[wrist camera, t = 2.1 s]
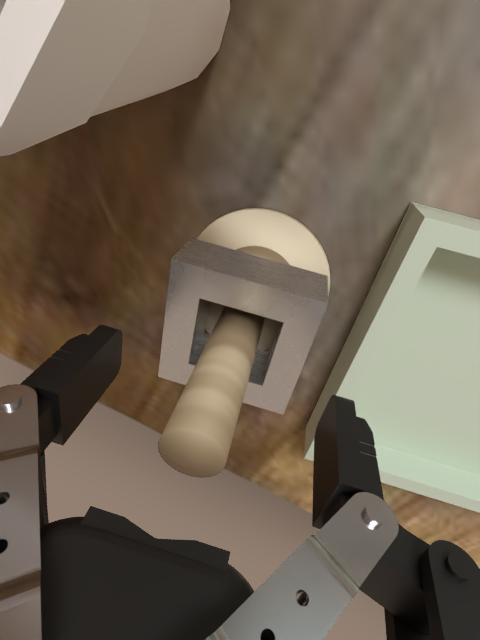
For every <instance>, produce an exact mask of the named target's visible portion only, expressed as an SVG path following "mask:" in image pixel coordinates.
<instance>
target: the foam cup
mask: <svg viewBox="0 0 480 640" xmlns="http://www.w3.org/2000/svg"><path fill="white" fill-rule="evenodd" d="M229 12H230V0H0V156H6V155H12V154H14V153H16V152H19V151H21V150H23V149H26V148H28V147H30V146H33V145H35V144H38V143H40V142H42V141H45V140H47V139H49V138H52V137H54V136H56V135H59V134H61V133H63V132H66V131H68V130H70V129H73V128H75V127H77V126H80V125H82V124H84V123H86V122H87V121H88V119H89V118H90V117H92V116H95V115H98V114H101V113H104V112H106V111H109V110H112V109H115V108H118V107H121V106H124V105H127V104H130V103H133V102H136V101H139V100H142V99H145V98H148V97H151V96H154V95H157V94H160V93H163V92H165V91H168V90H170V89H172V88H175V87H177V86H179V85H182V84H184V83H187V82H189V81H191V80H194V79H196V78H198V76H199V75H200V74H201V73H202V71H203V70H204V69H205V67H206V66H207V65H208V64H209V62H210V61H211V60H212V58H213V57H214V56H215V55H216V53H217V52H218V51H219V49H220V45H221V41H222V38H223V34H224V30H225V26H226V23H227V19H228V15H229Z"/></svg>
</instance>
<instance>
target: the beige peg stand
mask: <svg viewBox="0 0 480 640" xmlns="http://www.w3.org/2000/svg"><path fill="white" fill-rule="evenodd" d="M197 239H198V240H201V241H205V242H208V243H212V244H216V245H219V246H223V247H226V248H230V249H234V250H237V251H241V252H244V253H248V254H251V255H255V256H259V257H262V258H266V259H269V260H273V261H277V262H280V263H284V264H287V265H291V266H294V267H298V268H302V269H305V270H309V271H312V272H316V273H320V274H323V275H327V277H328V296H329V290H330V270H329V264H328V260H327V257H326V254H325V252H324V250H323V247H322V246H321V244H320V242H319V241H318V239H317V238H316V237H315V236H314V234H313V233H312V232H311V231H310V230H309V229H308V228H307V227H306V226H305V225H303V224H302V223H301V222H299V221H298V220H296V219H295V218H293V217H291V216H289V215H287V214H285V213H282V212H279V211H276V210H271V209H266V208H244V209H240V210H235V211H232V212H230V213H227V214H225V215H223V216H221V217H219V218H218V219H216V220H215V221H213V222H212V223H211V224H210V225H209V226H208V227H207V228H206V229H205V230H204V231H203V232H202V233H201V234H200V235H199V237H198V238H197ZM279 323H280V321H277V320H273V319H270V318H266V317H263V316H259V315H256V314H252V313H249V312H246V311H242V310H239V309H235V308H232V307H228V306H225V305H221V304H218V303H214V302H211V301H210V305H209V311H208V316H207V321H206V326H205V329H206V330H207V332H208V333H209V334H210V337H209V339H208V341H207V343H206V345H205V347H204V349H203V351H202V353H201V356H200V358H199V360H198V362H197V364H196V366H195V368H194V370H193V372H192V374H191V376H190V378H189V380H188V382H187V384H186V386H185V388H184V390H183V392H182V394H181V396H180V399H179V401H178V403H177V405H176V407H175V409H174V411H173V413H172V415H171V417H170V419H169V421H168V423H167V425H166V427H165V429H164V431H163V433H162V435H161V437H160V440H159V442H158V449H159V452H160V455H161V457H162V458H163V459H164V461H165V462H166V463H167V464H168V465H170V466H171V467H172V468H174V469H175V470H177V471H179V472H181V473H183V474H186V475H190V476H194V477H211V476H214V475H217V474H218V473H220V472H221V471H222V470H223V469H224V467H225V465H226V461H227V457H228V454H229V450H230V446H231V443H232V439H233V435H234V432H235V428H236V424H237V420H238V417H239V413H240V409H241V406H242V402H243V398H244V394H245V391H246V387H247V383H248V380H249V376H250V372H251V369H252V365H253V361H254V357H255V354H256V350H257V349H259V350H263V351H264V350H267V349H270V348H271V347H272V344H273V341H274V338H275V335H276V332H277V329H278V326H279Z"/></svg>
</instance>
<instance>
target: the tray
mask: <svg viewBox="0 0 480 640" xmlns="http://www.w3.org/2000/svg"><path fill="white" fill-rule="evenodd" d="M332 395H337V396H340V397H343V398H347V399H350V400H353V401H354V403H355V410H356V416H357V417H360V418H363V419H365V420H366V421H367V423H368V425H369V427H370V428H371V430H372V432H373V437H374V443H375V446H374V447H375V449H376V455H377V456H376V458H377V462H378V468H379V474H380V480H381V482H382V483H385V484H389V485H392V486H395V487H398V488H401V489H405V490H408V491H411V492H414V493H418V494H421V495H424V496H427V497H431V498H434V499H437V500H440V501H444V502H447V503H450V504H453V505H456V506H460V507H463V508H466V509H469V510H473V511H476V512H479V513H480V220H478V219H474V218H470V217H467V216H463V215H459V214H455V213H452V212H448V211H444V210H440V209H436V208H433V207H429V206H425V205H421V204H417V203H414V202H411V203H410V205H409V207H408V209H407V211H406V213H405V216H404V218H403V220H402V222H401V224H400V226H399V228H398V231H397V233H396V235H395V237H394V239H393V241H392V243H391V246H390V248H389V250H388V252H387V254H386V256H385V258H384V260H383V263H382V265H381V267H380V269H379V271H378V273H377V275H376V278H375V280H374V282H373V284H372V286H371V288H370V290H369V293H368V295H367V297H366V299H365V301H364V303H363V305H362V308H361V310H360V312H359V314H358V316H357V318H356V320H355V323H354V325H353V327H352V329H351V331H350V333H349V335H348V338H347V340H346V342H345V344H344V346H343V348H342V350H341V353H340V355H339V357H338V359H337V361H336V363H335V365H334V368H333V370H332V372H331V374H330V376H329V378H328V380H327V382H326V385H325V387H324V389H323V391H322V393H321V395H320V397H319V400H318V402H317V404H316V406H315V408H314V410H313V412H312V415H311V417H310V419H309V421H308V423H307V425H306V434H305V453H304V459H308V460H311V461H314V437H315V431H316V427H317V424H318V422H319V420H320V418H321V416H322V414H323V412H324V410H325V408H326V405H327V403H328V401H329V399H330V397H331V396H332Z"/></svg>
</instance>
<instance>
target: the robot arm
mask: <svg viewBox="0 0 480 640" xmlns="http://www.w3.org/2000/svg"><path fill="white" fill-rule="evenodd" d="M121 355H122V331H121V330H118V329H114V328H111V327H108V326H104V325H100V326H98V327H97V328H96V329H95V330H94V331H93V332H92V333H91V334H90V335H86V334H81V335H79V336H76V337H74V338H72V339H70V340H68V341H67V342H66V343H65V344H64V345H63V346H62V347H61V348H60V349H59V350H57V351H56V352H55V353H54V354H53V355H52V357H51V358H48V359H47V360H46V361H45V362H44V363H43V364H42V365H41V366H40V367H39V368H37V369H36V370H35V371H34V372H33V373H32V374H31V375H30V376H29V377H27V378H26V379H25V380H24V381H23V382H22V383H21V384H20V385H19V384H15V385H7V386H4V387H1V388H0V640H323V639H324V638H325V636H326V635H327V633H328V632H329V631H330V629H331V628H332V627H333V625H334V624H335V622H336V621H337V620H338V618H339V617H340V615H341V614H342V613H343V612H344V610H345V609H346V607H347V606H348V605H349V603H350V602H351V600H352V599H353V598H354V596H355V595H356V594H357V592H358V590H361V591H362V592H364V593H365V594H367V595H368V596H369V597H371V598H372V599H373V600H375V601H376V602H378V603H379V604H380V605H382V606H383V607H384V609H385V622H386V635H387V640H480V569H479V568H478V566H477V564H476V563H475V562H474V560H473V559H472V558H471V557H470V556H469V555H468V554H467V553H466V552H465V551H464V550H463V549H461V548H460V547H459V546H457V545H455V544H453V543H451V542H449V541H445V540H438V541H435V542H434V543H432V544H431V545H429V544H427V543H426V542H424V541H422V540H421V539H419V538H418V537H416V536H415V535H413V534H411V533H410V532H408V531H407V530H406V529H404V528H403V527H402V526H401V525H399V524H398V521H397V518H396V516H395V514H394V512H393V510H392V509H391V508H390V506H389V505H388V504H387V503H386V502H385V501H384V498H383V493H382V486H381V480H380V474H379V468H378V462H377V458H376V456H377V455H376V449H375V447H374V446H375V443H374V437H373V432H372V430H371V428H370V427H369V425H368V423H367V421H366V420H365V419H363V418H360V417H357V416H356V410H355V403H354V401H353V400H350V399H347V398H343V397H340V396H337V395H332V396H331V397H330V399H329V401H328V403H327V405H326V408H325V410H324V412H323V414H322V416H321V418H320V420H319V422H318V424H317V427H316V431H315V437H314V475H313V525H312V526H313V527H316V528H319V529H320V530H319V531H318V532H317V533H316V534H315V535H314V536H313V535H311V536H310V537H309V538H308V539H306V540H305V542H303V543H302V544H301V545H300V546H299V548H298V549H296V551H295V552H293V553H292V554H291V556H290V557H288V558H287V560H286V561H285V562H284V563H283V564H282V565H281V566H280V567H279V568H278V569H277V570H276V571H275V572H274V573H273V574H272V575H271V576H270V577H269V578H268V579H267V580H266V581H265V582H264V583H263V584H262V585H261V586H260V587H259V588H258V589H257V590H256V591H255V592H254V590H253V589H252V587H251V586H250V584H249V583H248V582H247V580H246V579H245V578H244V577H243V576H242V575H241V574H240V573H239V572H238V571H237V570H236V569H235V568H234V567H232V566H231V565H229V564H228V560H229V555H230V552H229V551H226V550H223V549H220V548H217V547H214V546H211V545H208V544H205V543H201V542H199V541H195V540H171V539H169V540H168V539H156V538H154V537H152V536H151V535H149V534H148V533H146V532H145V531H144V530H142V529H141V528H139V527H138V526H136V525H135V524H134V523H132V522H131V521H129V520H128V519H126V518H125V517H123V516H119V515H116V514H113V513H110V512H107V511H104V510H101V509H98V508H95V507H92V506H90V508H89V510H88V511H87V513H86V515H85V517H72V518H66V519H61V520H58V521H54V522H51V523H49V521H48V510H47V494H46V472H45V453H44V450H45V449H46V447H47V446H48V445H49V444H50V443H51V442H54V443H57V444H61V445H64V443H65V442H66V441H67V439H68V438H69V437H70V436H71V434H72V433H73V432H74V431H75V429H76V428H77V427H78V425H79V424H80V423H81V422H82V420H83V419H84V418H85V416H86V415H87V414H88V412H89V411H90V410H91V409H92V407H93V406H94V405H95V403H96V402H97V401H98V400H99V398H100V397H101V396H102V394H103V393H104V392H105V390H106V389H107V388H108V387H109V385H110V384H111V383H112V381H113V380H114V379H115V377H116V376H117V374H118V372H119V369H120V366H121Z"/></svg>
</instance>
